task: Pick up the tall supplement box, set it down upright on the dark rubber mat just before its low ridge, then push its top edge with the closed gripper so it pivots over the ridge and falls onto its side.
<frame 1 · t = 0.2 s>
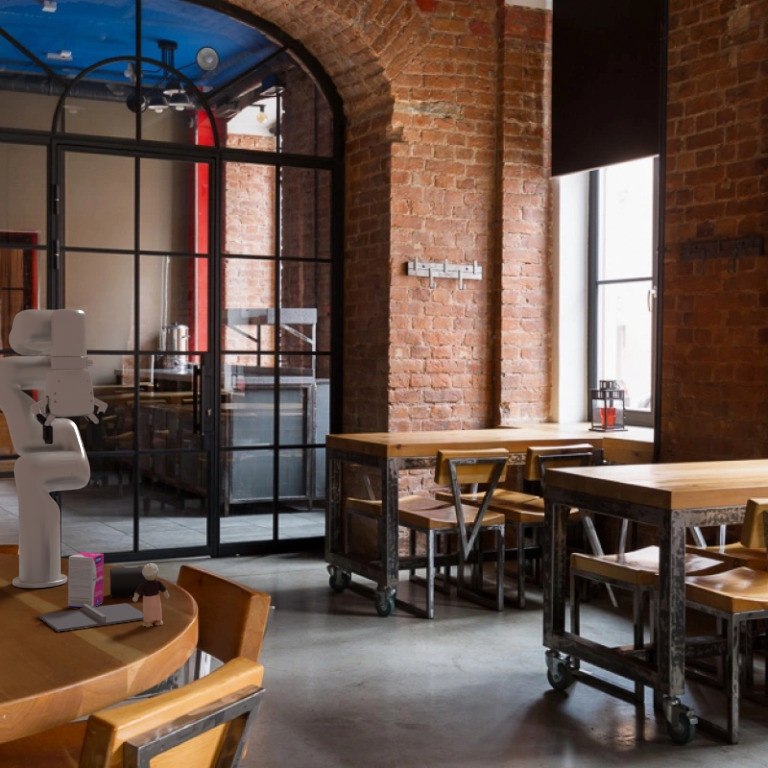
hand: (70, 442, 234), 36 cm above the table, tool pointing down, fingers open, 9 cm apart
end cap: (132, 597, 243), on the table
mat: (93, 618, 222), on the table
grandmother figurine: (150, 626, 217), on the table
supplement box: (86, 607, 233), on the table
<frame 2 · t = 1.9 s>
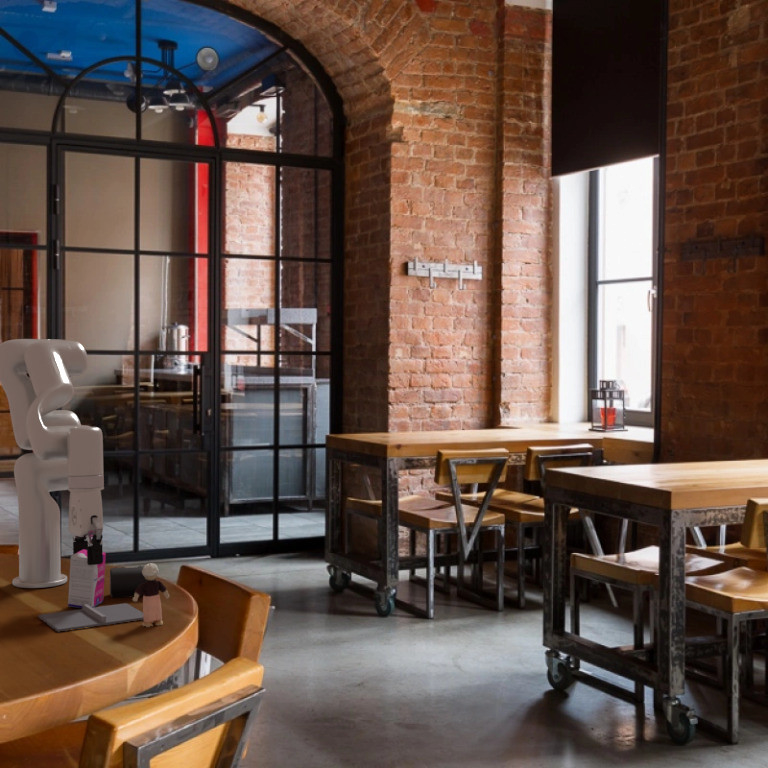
hand: (87, 561, 231), 10 cm above the table, tool pointing down, fingers open, 9 cm apart
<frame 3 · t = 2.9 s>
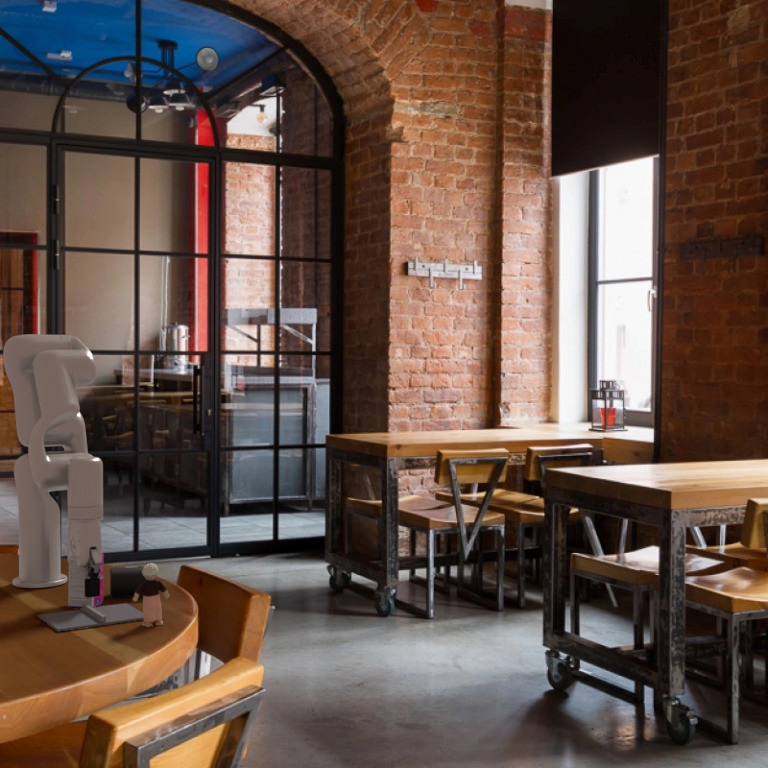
hand: (86, 592, 233), 3 cm above the table, tool pointing down, fingers closed on supplement box, 8 cm apart
supplement box: (86, 607, 233), on the table, touching gripper
everything else where it was.
when the fingers open (5 cm above the table, at t = 7.6 s): supplement box stays where it is, resting on mat.
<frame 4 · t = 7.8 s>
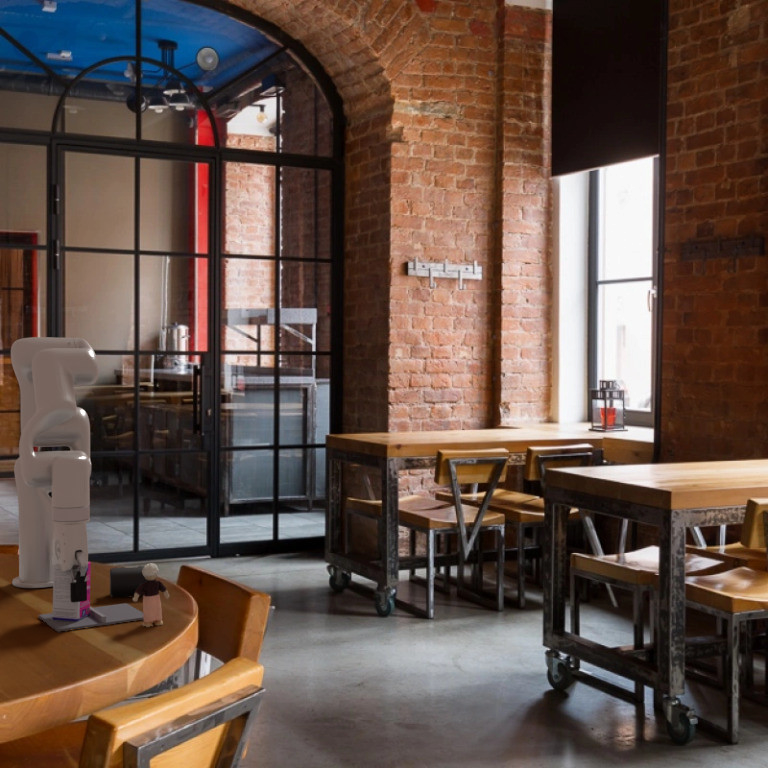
hand: (71, 596, 220), 5 cm above the table, tool pointing down, fingers open, 9 cm apart
supplement box: (71, 618, 220), resting on mat
everything else where it was.
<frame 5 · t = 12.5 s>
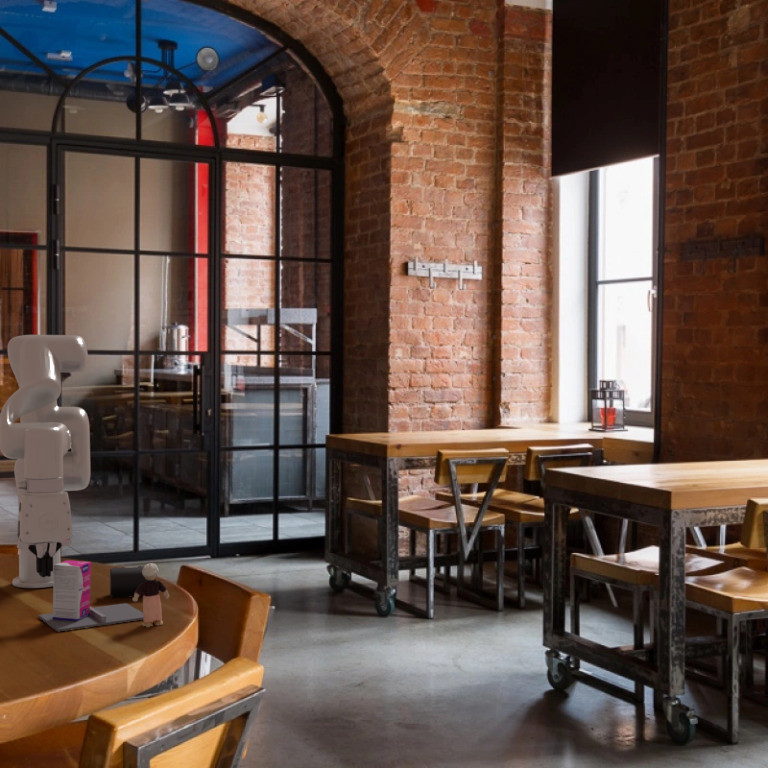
hand: (44, 575, 217), 10 cm above the table, tool pointing down, fingers closed
supplement box: (71, 618, 220), resting on mat, touching gripper
everything else where it was.
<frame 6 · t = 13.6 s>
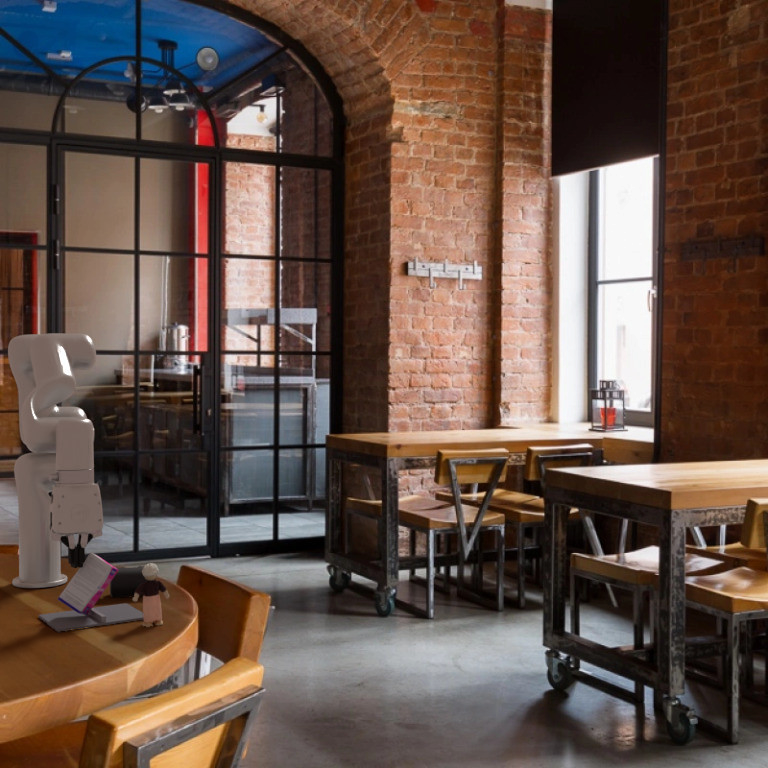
hand: (76, 566, 219), 11 cm above the table, tool pointing down, fingers closed
supplement box: (71, 608, 220), point 3 cm above the table, touching gripper, mat
everything else where it was.
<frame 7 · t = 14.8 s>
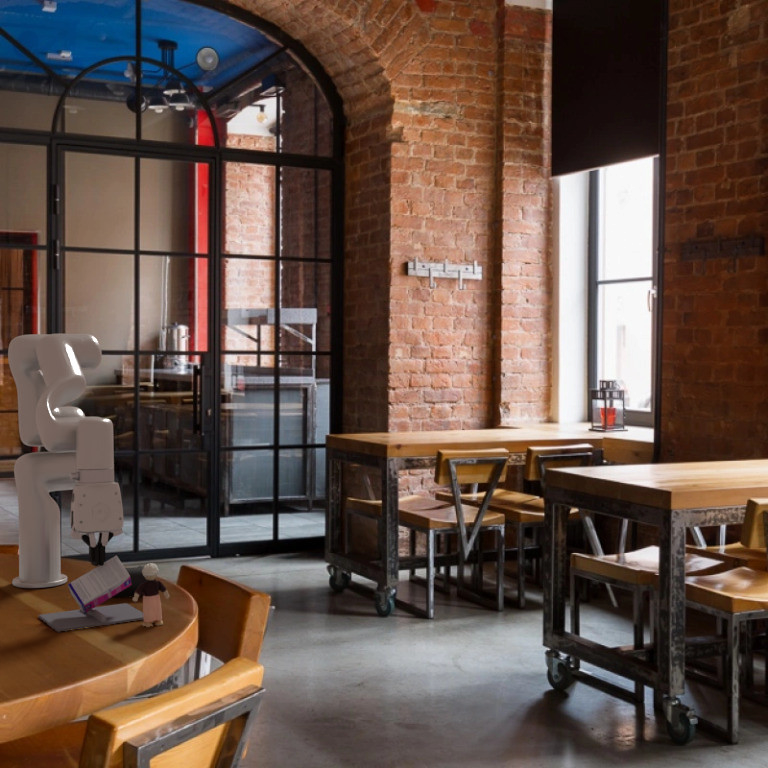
hand: (97, 564, 221), 11 cm above the table, tool pointing down, fingers closed
supplement box: (75, 600, 220), point 4 cm above the table, touching gripper, mat
everything else where it was.
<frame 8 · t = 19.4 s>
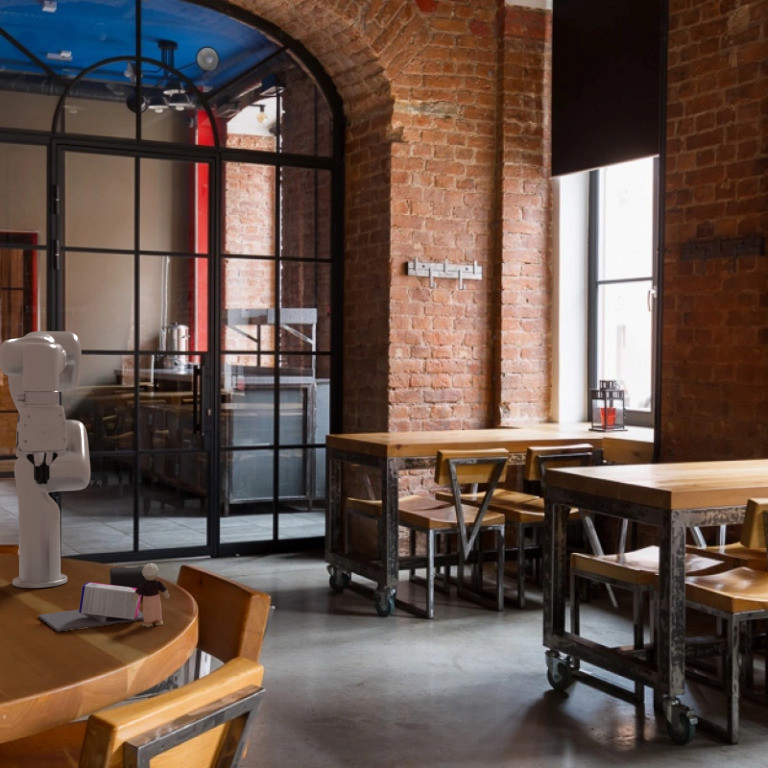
hand: (41, 483, 232), 27 cm above the table, tool pointing down, fingers closed
supplement box: (82, 597, 219), point 5 cm above the table, touching mat
everything else where it was.
at the end: supplement box tilted 97°; supplement box 3.2 cm from the mat (horizontally); the gripper is holding nothing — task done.
